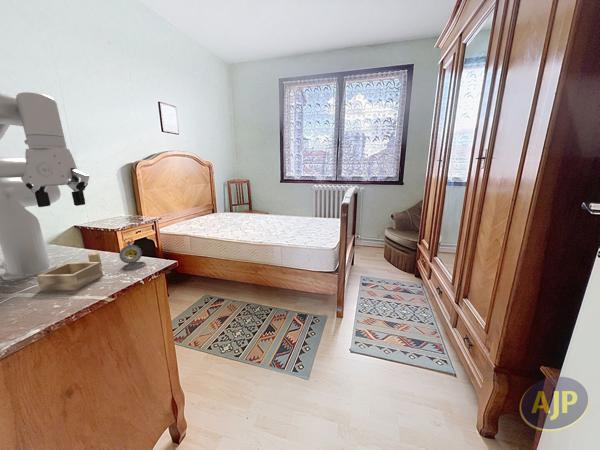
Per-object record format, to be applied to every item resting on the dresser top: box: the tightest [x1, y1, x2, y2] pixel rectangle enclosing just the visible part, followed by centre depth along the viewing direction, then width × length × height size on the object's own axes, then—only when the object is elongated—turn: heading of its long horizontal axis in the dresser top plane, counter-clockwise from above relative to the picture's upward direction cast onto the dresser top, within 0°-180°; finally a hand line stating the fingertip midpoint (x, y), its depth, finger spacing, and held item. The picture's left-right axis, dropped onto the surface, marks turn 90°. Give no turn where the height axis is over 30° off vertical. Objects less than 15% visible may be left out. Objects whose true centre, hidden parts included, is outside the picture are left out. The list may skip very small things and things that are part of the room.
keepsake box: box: [36, 261, 104, 292], centre depth 74 cm, size 10×10×5 cm
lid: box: [87, 252, 103, 267], centre depth 86 cm, size 10×10×6 cm
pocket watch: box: [118, 237, 147, 271], centre depth 86 cm, size 8×8×10 cm
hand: (62, 205), depth 71 cm, fingers open, 9 cm apart
